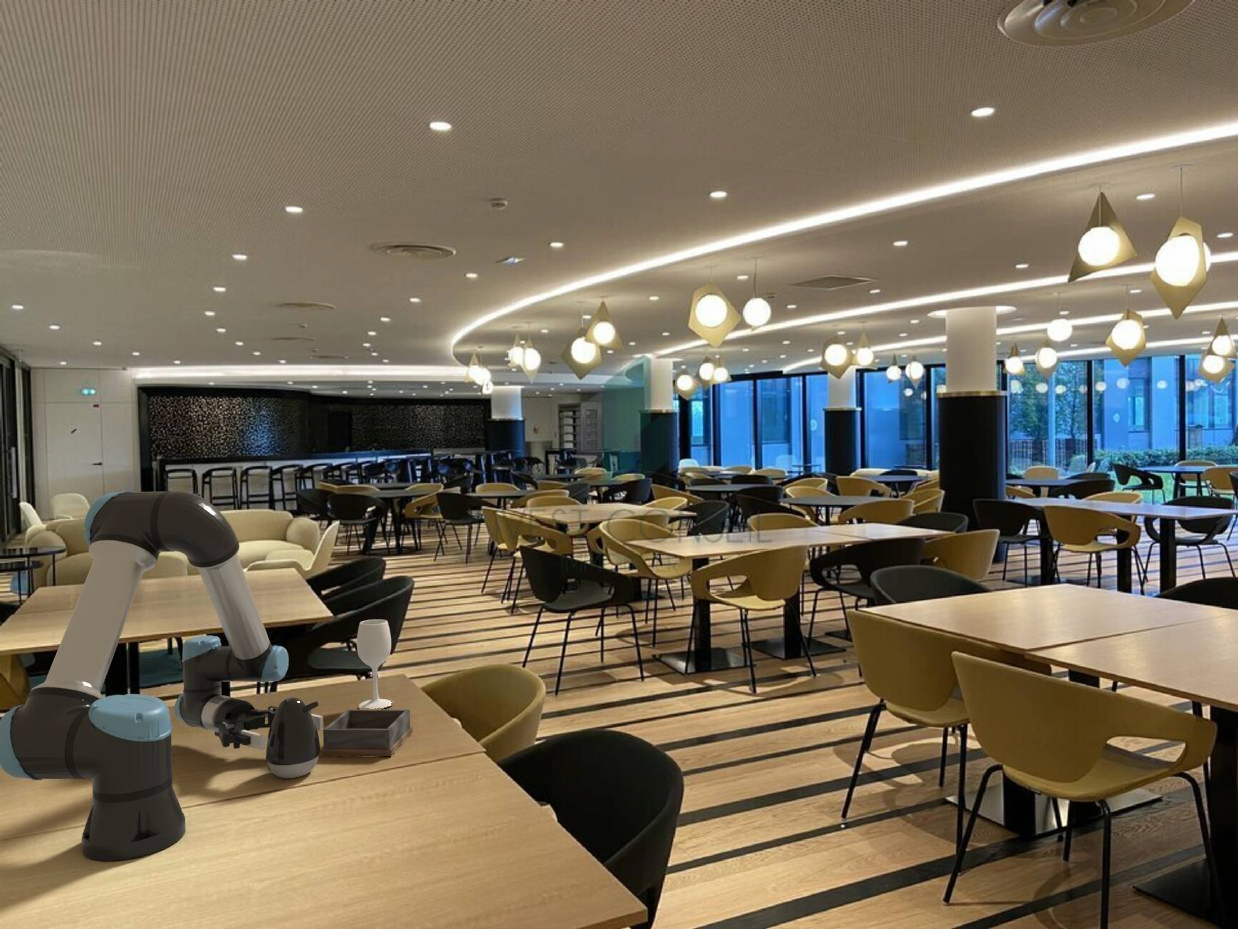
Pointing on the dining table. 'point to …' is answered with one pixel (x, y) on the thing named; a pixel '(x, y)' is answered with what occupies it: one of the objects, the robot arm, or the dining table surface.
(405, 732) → the holder
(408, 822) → the dining table surface
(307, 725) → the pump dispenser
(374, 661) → the wineglass
